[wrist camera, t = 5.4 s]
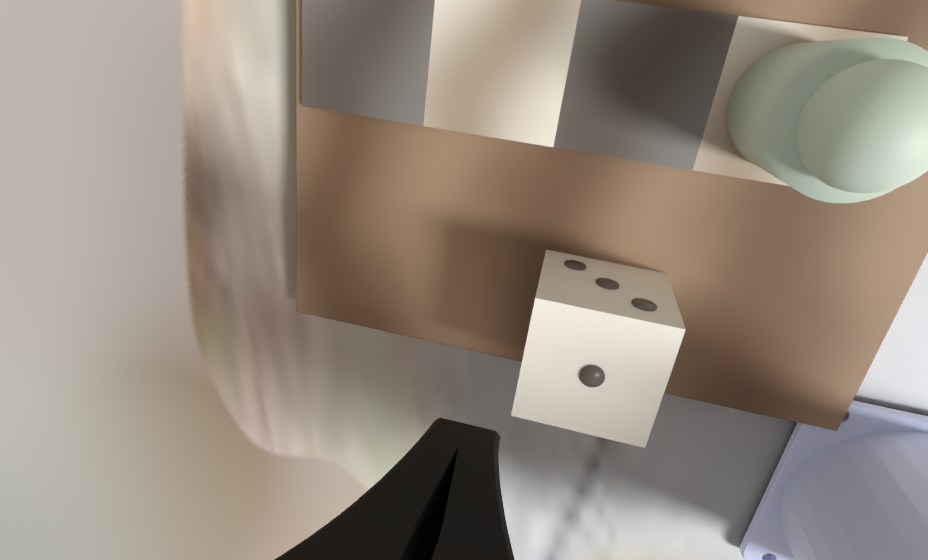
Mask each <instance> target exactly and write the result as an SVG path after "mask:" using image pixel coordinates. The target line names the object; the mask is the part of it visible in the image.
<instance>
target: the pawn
mask: <svg viewBox="0 0 928 560" xmlns="http://www.w3.org/2000/svg"><path fill="white" fill-rule="evenodd" d="M727 128H728V132H729V135H730V138H731V140H732V142H733V144H734V146H735V147H736V149H737V150H738V151H739V152H740V153H741V155H742V156H744V157H745V158H746V159H747V160H749V161H750V162H752V163H754V164H755V165H757V166H758V167H760V168H762V169H763V170H765V171H766V172H768V173H770V174H771V175H773V176H774V177H776V178H778V179H779V180H781V181H782V182H784V183H786V184H787V185H789V186H790V187H792V188H794V189H795V190H797V191H798V192H800V193H802V194H803V195H805V196H808V197H810V198H813V199H816V200H819V201H823V202H829V203H855V202H861V201H866V200H870V199H873V198H876V197H879V196H882V195H884V194H886V193H889V192H891V191H893V190H894V189H896V188H898V187H900V186H903V185H905V184H907V183H909V182H911V181H913V180H915V179H916V178H918V177H920V176H921V175H923V174H924V173H925V172H927V171H928V51H926V50H925V49H923V48H921V47H920V46H918V45H915V44H913V43H911V42H908V41H904V40H900V39H896V38H886V37H880V38H860V39H845V40H830V41H815V42H800V43H794V44H789V45H786V46H782V47H780V48H777V49H775V50H773V51H771V52H769V53H767V54H765V55H764V56H762V57H761V58H760V59H758V60H757V61H756V62H755V63H753V64H752V65H751V66H750V67H749V68H748V69H747V70H746V71H745V72H744V74H743V75H742V76H741V78H740V79H739V80H738V82H737V84H736V86H735V87H734V89H733V92H732V94H731V96H730V100H729V103H728V108H727Z"/></svg>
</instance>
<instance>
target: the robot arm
mask: <svg viewBox="0 0 928 560" xmlns="http://www.w3.org/2000/svg"><path fill="white" fill-rule="evenodd" d="M499 441H500V436H499V435H498V433H497V432H496V431H493V430H489V429H485V428H481V427H476V426H472V425H468V424H464V423H460V422H456V421H452V420H447V419H443V418H439V419H437V420H435V421H434V422H433V424H432V425H431V426H430V428H429V429H428V430H427V431H426V433H425V434H424V435H423V436H422V437H421V438H420V440H419V441H418V442H417V443H416V444H415V445H414V446H413V447H412V448H411V449H410V451H409V452H408V453H407V454H406V455H405V456H404V457H403V458H402V459H401V460H400V461H399V462H398V463H397V464H396V465H395V466H394V467H393V468H392V469H391V470H390V471H389V472H388V473H387V474H386V475H385V476H384V477H383V478H382V479H381V480H379V481H378V482H377V483H376V484H375V485H374V486H373V487H372V488H370V489H369V490H368V491H367V492H366V493H365V494H364V495H363V496H361V497H360V498H359V499H358V500H357V501H356V502H354V503H353V504H352V505H351V506H350V507H348V508H347V509H346V510H345V511H344V512H342V513H341V514H340V515H338V516H337V517H336V518H334V519H333V520H332V521H331V522H329V523H328V524H327V525H325V526H324V527H322V528H321V529H320V530H318V531H317V532H316V533H314V534H313V535H311V536H310V537H308V538H307V539H305V540H304V541H303V542H301V543H300V544H298V545H297V546H295V547H294V548H292V549H290V550H289V551H287V552H286V553H284V554H283V555H281V556H280V557H278V558H276V559H275V560H514V556H513V552H512V548H511V543H510V539H509V535H508V530H507V525H506V520H505V515H504V508H503V502H502V496H501V489H500V480H499V466H498V450H499ZM740 550H741V553H742V556H743V558H744V559H745V560H928V416H924V415H919V414H915V413H910V412H905V411H901V410H896V409H891V408H886V407H882V406H877V405H872V404H868V403H863V402H858V401H854V400H853V401H852V403H851V405H850V407H849V409H848V411H847V413H846V415H845V417H844V419H843V421H842V423H841V425H840V427H839V429H838V430H837V431H834V430H830V429H825V428H821V427H816V426H812V425H807V424H803V423H798V422H797V424H796V426H795V429H794V431H793V433H792V435H791V437H790V439H789V441H788V444H787V446H786V448H785V450H784V452H783V454H782V456H781V459H780V461H779V463H778V465H777V467H776V469H775V472H774V474H773V476H772V478H771V480H770V482H769V484H768V487H767V489H766V491H765V493H764V495H763V497H762V500H761V502H760V504H759V506H758V508H757V510H756V512H755V515H754V517H753V519H752V521H751V523H750V525H749V528H748V530H747V532H746V534H745V536H744V538H743V540H742V543H741V545H740ZM767 553H769V554H770V555H764V554H767Z"/></svg>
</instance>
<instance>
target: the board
mask: <svg viewBox="0 0 928 560" xmlns="http://www.w3.org/2000/svg"><path fill="white" fill-rule="evenodd" d="M880 37H886V38H896V39H900V40H904V41H908V42H911V43H913V44H915V45H918V46H920V47H921V48H923V49H925V50H926V51H928V0H296V311H297V312H301V313H306V314H310V315H315V316H319V317H324V318H328V319H333V320H337V321H342V322H346V323H351V324H355V325H360V326H364V327H369V328H373V329H378V330H382V331H387V332H391V333H396V334H401V335H405V336H410V337H414V338H419V339H423V340H428V341H432V342H437V343H441V344H446V345H450V346H455V347H459V348H464V349H468V350H473V351H477V352H482V353H486V354H491V355H495V356H500V357H504V358H509V359H514V360H518V361H522V359H523V354H524V350H525V349H524V344H525V339H526V334H527V330H528V328H529V327H527V326H528V321H529V316H530V311H531V307H532V304H534V301H535V296H536V292H537V288H538V283H539V279H540V274H541V270H542V266H543V261H544V257H545V252H546V250H551V251H556V252H561V253H567V254H572V255H577V256H582V257H587V258H592V259H597V260H602V261H607V262H612V263H617V264H622V265H627V266H632V267H637V268H642V269H647V270H652V271H657V272H662V273H667V275H668V278H669V281H670V284H671V287H672V290H673V293H674V296H675V299H676V302H677V305H678V308H679V311H680V314H681V317H682V320H683V323H684V326H685V329H686V330H685V333H684V336H683V339H682V342H681V345H680V348H679V351H678V354H677V357H676V360H675V363H674V366H673V368H672V371H671V374H670V377H669V380H668V383H667V386H666V389H665V392H664V393H667V394H672V395H676V396H681V397H685V398H690V399H694V400H699V401H703V402H708V403H712V404H717V405H721V406H726V407H730V408H735V409H740V410H744V411H749V412H753V413H758V414H762V415H767V416H771V417H776V418H780V419H785V420H789V421H794V422H798V423H803V424H807V425H812V426H816V427H821V428H825V429H830V430H834V431H837V430H838V429H839V427H840V425H841V423H842V421H843V419H844V417H845V415H846V413H847V411H848V409H849V407H850V405H851V403H852V401H853V399H854V397H855V395H856V393H857V391H858V389H859V387H860V385H861V383H862V381H863V379H864V377H865V375H866V373H867V371H868V369H869V367H870V365H871V363H872V361H873V359H874V357H875V355H876V353H877V351H878V349H879V347H880V345H881V343H882V341H883V339H884V338H885V336H886V334H887V332H888V330H889V328H890V326H891V324H892V322H893V320H894V318H895V316H896V314H897V312H898V310H899V308H900V306H901V304H902V302H903V300H904V298H905V296H906V294H907V292H908V290H909V288H910V286H911V284H912V282H913V280H914V278H915V276H916V274H917V272H918V270H919V268H920V266H921V264H922V262H923V260H924V258H925V256H926V254H927V252H928V171H927V172H925V173H924V174H923V175H921V176H920V177H918V178H916V179H915V180H913V181H911V182H909V183H907V184H905V185H903V186H900V187H898V188H896V189H894V190H893V191H891V192H889V193H886V194H884V195H882V196H879V197H876V198H873V199H870V200H866V201H861V202H855V203H829V202H823V201H819V200H816V199H813V198H810V197H808V196H805V195H803V194H802V193H800V192H798V191H797V190H795V189H794V188H792V187H790V186H789V185H787V184H786V183H784V182H782V181H781V180H779V179H778V178H776V177H774V176H773V175H771V174H770V173H768V172H766V171H765V170H763V169H762V168H760V167H758V166H757V165H755V164H754V163H752V162H750V161H749V160H747V159H746V158H745V157H744V156H742V155H741V153H740V152H739V151H738V150H737V149H736V147H735V146H734V144H733V142H732V140H731V138H730V135H729V132H728V128H727V108H728V103H729V100H730V96H731V94H732V92H733V89H734V87H735V86H736V84H737V82H738V80H739V79H740V78H741V76H742V75H743V74H744V72H745V71H746V70H747V69H748V68H749V67H750V66H751V65H752V64H753V63H755V62H756V61H757V60H758V59H760V58H761V57H762V56H764V55H765V54H767V53H769V52H771V51H773V50H775V49H777V48H780V47H782V46H786V45H789V44H794V43H800V42H815V41H830V40H845V39H860V38H880Z"/></svg>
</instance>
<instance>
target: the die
mask: <svg viewBox="0 0 928 560" xmlns="http://www.w3.org/2000/svg"><path fill="white" fill-rule="evenodd" d="M527 327H529V328H528V330H527V334H526V339H525V344H524V349H525V350H524V354H523V359H522V364H521V369H520V374H519V379H518V383H517V388H516V393H515V398H514V403H513V408H512V412H511V416H514V417H518V418H522V419H527V420H531V421H535V422H539V423H543V424H547V425H551V426H555V427H560V428H564V429H568V430H572V431H576V432H580V433H584V434H588V435H593V436H597V437H601V438H605V439H609V440H613V441H617V442H622V443H626V444H630V445H634V446H638V447H642V448H646V445H647V442H648V439H649V436H650V433H651V430H652V427H653V424H654V421H655V418H656V415H657V412H658V409H659V407H660V404H661V401H662V398H663V395H664V392H665V389H666V386H667V383H668V380H669V377H670V374H671V371H672V368H673V366H674V363H675V360H676V357H677V354H678V351H679V348H680V345H681V342H682V339H683V336H684V333H685V330H686V329H685V326H684V323H683V320H682V317H681V314H680V311H679V308H678V305H677V302H676V299H675V296H674V293H673V290H672V287H671V284H670V281H669V278H668V275H667V273H662V272H657V271H652V270H647V269H642V268H637V267H632V266H627V265H622V264H617V263H612V262H607V261H602V260H597V259H592V258H587V257H582V256H577V255H572V254H567V253H561V252H556V251H551V250H546V252H545V257H544V261H543V266H542V270H541V274H540V279H539V283H538V288H537V292H536V296H535V301H534V304H532V307H531V311H530V316H529V321H528V326H527Z"/></svg>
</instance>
